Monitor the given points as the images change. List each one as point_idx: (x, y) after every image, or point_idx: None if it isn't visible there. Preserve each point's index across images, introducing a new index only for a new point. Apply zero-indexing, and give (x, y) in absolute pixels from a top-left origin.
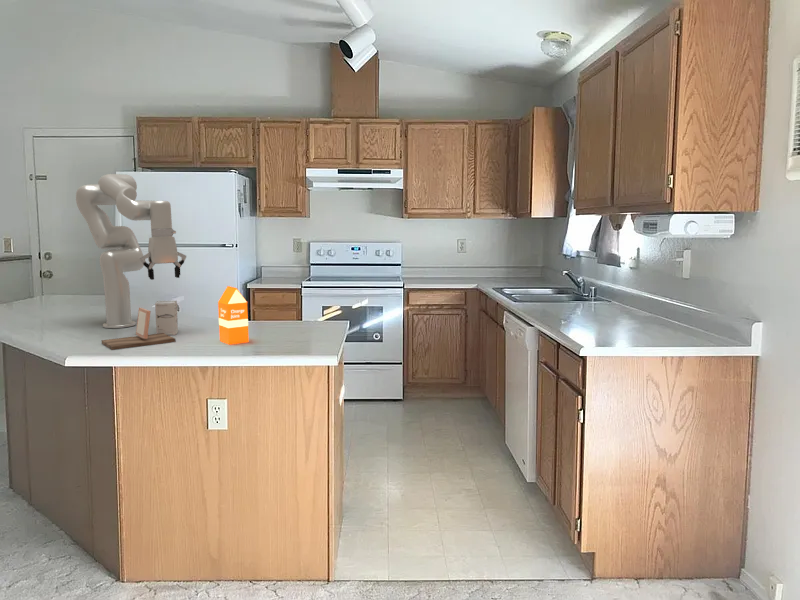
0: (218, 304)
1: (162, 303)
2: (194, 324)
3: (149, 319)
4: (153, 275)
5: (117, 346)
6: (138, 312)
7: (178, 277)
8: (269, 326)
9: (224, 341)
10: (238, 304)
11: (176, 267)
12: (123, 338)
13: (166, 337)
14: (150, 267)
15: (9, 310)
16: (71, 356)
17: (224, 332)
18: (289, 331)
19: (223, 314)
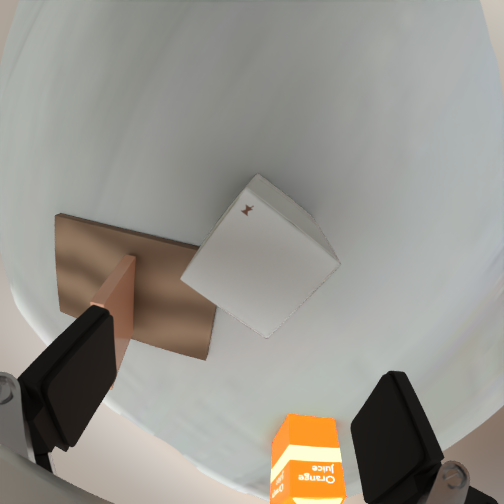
0: (289, 490)
1: (213, 302)
2: (432, 141)
3: (118, 369)
4: (97, 400)
5: (71, 314)
6: (98, 292)
7: (356, 426)
8: (476, 351)
9: (279, 432)
10: None
11: (391, 492)
12: (98, 239)
13: (194, 330)
14: (33, 447)
15: None
16: (12, 292)
17: (279, 449)
18: (435, 416)
19: (278, 483)
